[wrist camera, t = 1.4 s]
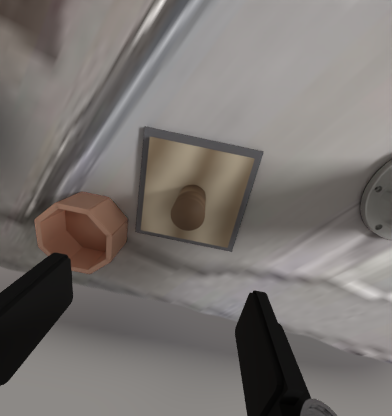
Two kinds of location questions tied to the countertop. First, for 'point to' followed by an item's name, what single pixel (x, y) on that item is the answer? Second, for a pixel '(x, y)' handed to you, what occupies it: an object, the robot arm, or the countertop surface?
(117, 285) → the countertop surface
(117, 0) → the countertop surface
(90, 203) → the bowl
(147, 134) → the mat
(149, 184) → the cover
